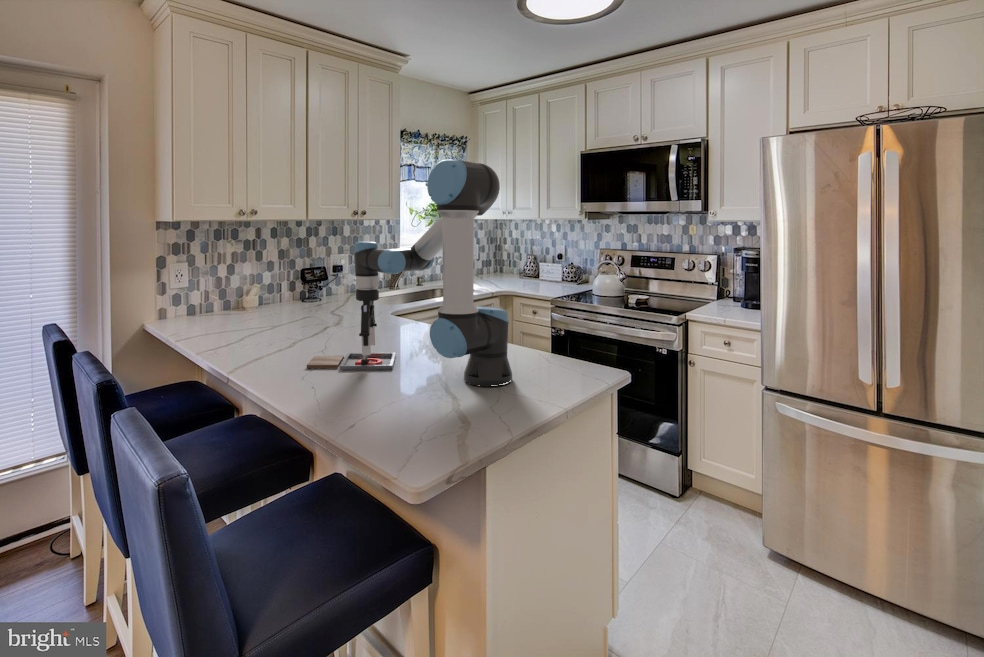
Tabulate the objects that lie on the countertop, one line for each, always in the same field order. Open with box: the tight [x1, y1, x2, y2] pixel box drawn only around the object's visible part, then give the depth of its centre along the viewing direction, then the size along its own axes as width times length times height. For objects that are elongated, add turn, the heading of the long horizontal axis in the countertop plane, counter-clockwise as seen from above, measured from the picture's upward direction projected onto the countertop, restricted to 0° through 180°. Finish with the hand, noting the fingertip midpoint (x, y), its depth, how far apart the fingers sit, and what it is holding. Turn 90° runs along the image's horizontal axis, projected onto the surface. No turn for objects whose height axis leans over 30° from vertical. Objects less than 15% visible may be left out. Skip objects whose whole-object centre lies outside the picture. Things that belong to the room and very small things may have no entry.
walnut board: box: [306, 355, 345, 369], centre depth 177 cm, size 12×10×1 cm
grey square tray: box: [339, 352, 397, 371], centre depth 179 cm, size 17×17×2 cm
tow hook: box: [354, 355, 383, 365], centre depth 178 cm, size 8×13×9 cm
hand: (368, 349), depth 178 cm, fingers open, 13 cm apart
